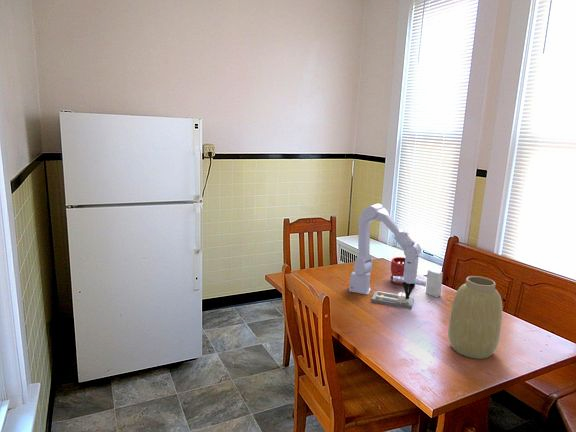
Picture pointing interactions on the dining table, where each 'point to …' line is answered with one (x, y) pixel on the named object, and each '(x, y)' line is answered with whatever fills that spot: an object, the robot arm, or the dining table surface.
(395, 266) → the plant pot
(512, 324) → the dining table surface
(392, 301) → the board
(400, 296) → the fader tab
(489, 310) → the vase
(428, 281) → the skincare box
